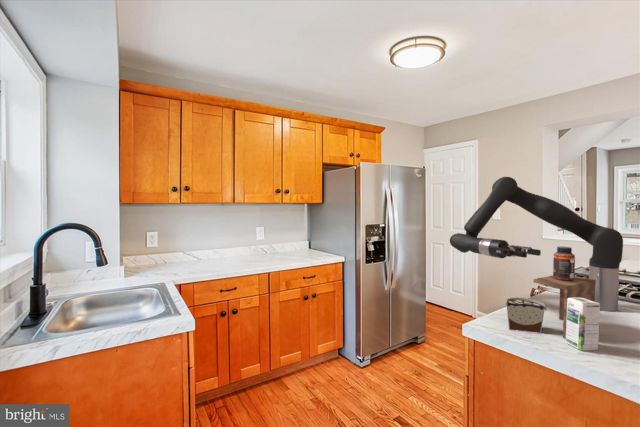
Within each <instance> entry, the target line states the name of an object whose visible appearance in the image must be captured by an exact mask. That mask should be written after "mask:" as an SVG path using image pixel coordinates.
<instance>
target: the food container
mask: <svg viewBox="0 0 640 427" xmlns="http://www.w3.org/2000/svg"><path fill="white" fill-rule="evenodd" d="M504 307H505V308H506V310H507V321H508V322H507V323H508V330H510V331H516V330H518V332H524V331H526V333H533V332H537V333H536V334H542V329H543V322H544V315H545V311H548V310H547V306H546V304H545V303H543V302H542V301H539V300H536V299H530V298H526V297H525V298H524V297H510V298H507V299H506V301H505V303H504Z"/></svg>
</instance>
